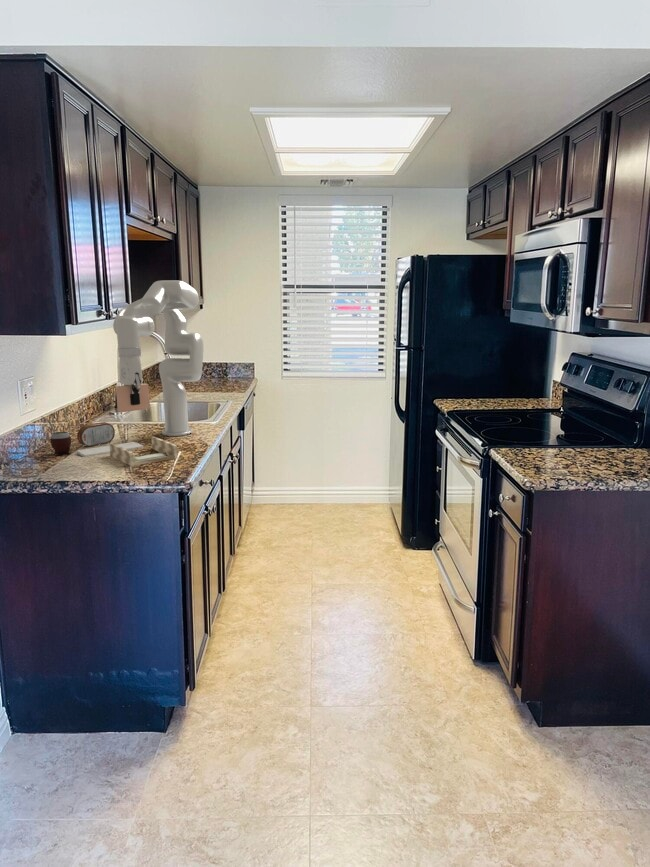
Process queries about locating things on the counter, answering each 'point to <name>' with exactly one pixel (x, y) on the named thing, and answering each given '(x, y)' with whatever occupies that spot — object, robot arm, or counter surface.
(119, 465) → the counter surface
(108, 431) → the tin
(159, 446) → the rack
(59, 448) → the mate gourd
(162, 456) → the offcut upper
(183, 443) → the counter surface
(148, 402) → the sheet
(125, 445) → the mat
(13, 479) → the counter surface
